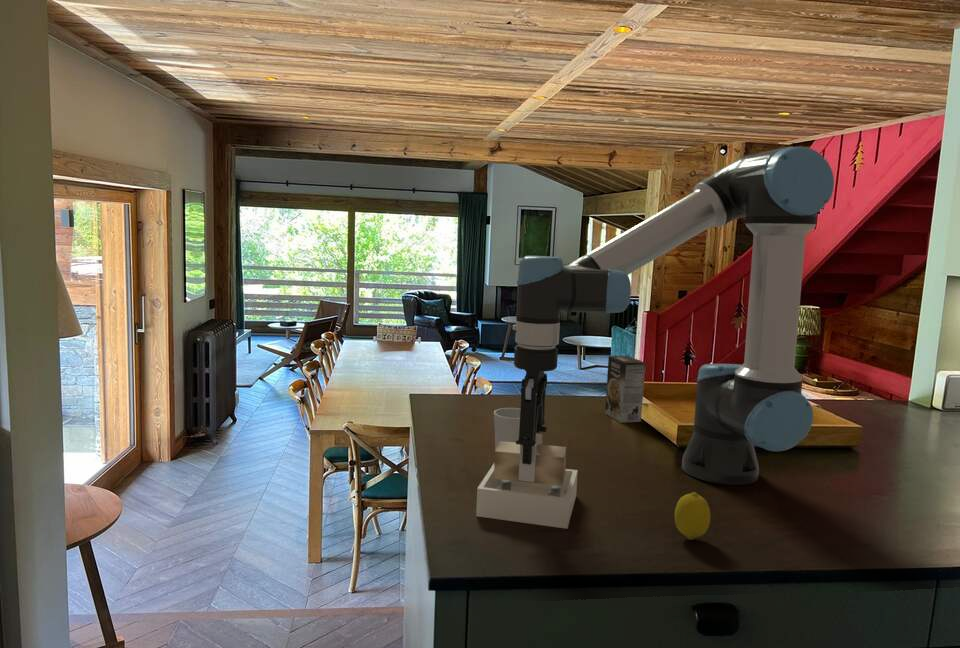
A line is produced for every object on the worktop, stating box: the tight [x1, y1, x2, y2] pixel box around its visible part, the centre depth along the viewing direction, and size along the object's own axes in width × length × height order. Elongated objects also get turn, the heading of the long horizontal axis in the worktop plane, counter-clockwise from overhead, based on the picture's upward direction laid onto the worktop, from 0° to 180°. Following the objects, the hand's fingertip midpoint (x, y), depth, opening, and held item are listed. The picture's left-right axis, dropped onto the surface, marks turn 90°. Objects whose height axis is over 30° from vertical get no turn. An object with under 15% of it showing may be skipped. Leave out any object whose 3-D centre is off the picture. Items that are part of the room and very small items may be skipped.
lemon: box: [674, 491, 711, 541], centre depth 109 cm, size 6×6×8 cm
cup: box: [493, 407, 521, 451], centre depth 138 cm, size 8×8×12 cm
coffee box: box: [604, 355, 647, 423], centre depth 180 cm, size 9×6×16 cm
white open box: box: [475, 463, 579, 530], centre depth 121 cm, size 16×15×5 cm
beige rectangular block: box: [493, 441, 567, 486], centre depth 120 cm, size 12×6×5 cm, turn 79°
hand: (529, 473), depth 120 cm, fingers closed on beige rectangular block, 6 cm apart
